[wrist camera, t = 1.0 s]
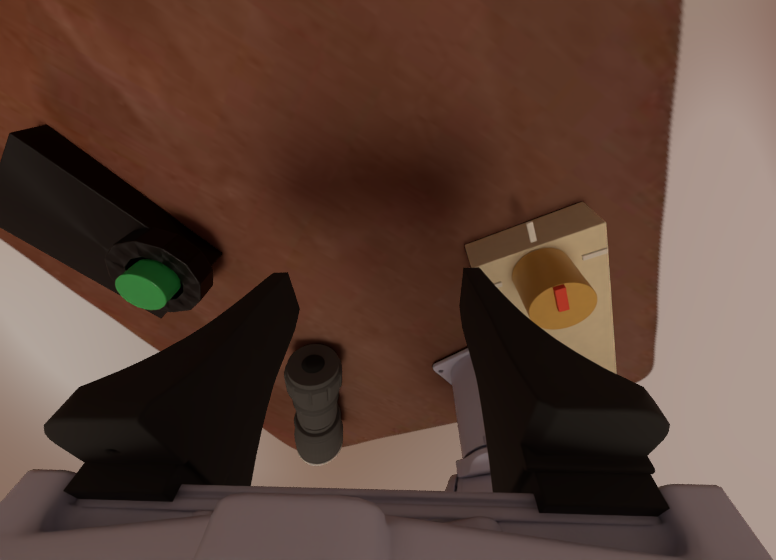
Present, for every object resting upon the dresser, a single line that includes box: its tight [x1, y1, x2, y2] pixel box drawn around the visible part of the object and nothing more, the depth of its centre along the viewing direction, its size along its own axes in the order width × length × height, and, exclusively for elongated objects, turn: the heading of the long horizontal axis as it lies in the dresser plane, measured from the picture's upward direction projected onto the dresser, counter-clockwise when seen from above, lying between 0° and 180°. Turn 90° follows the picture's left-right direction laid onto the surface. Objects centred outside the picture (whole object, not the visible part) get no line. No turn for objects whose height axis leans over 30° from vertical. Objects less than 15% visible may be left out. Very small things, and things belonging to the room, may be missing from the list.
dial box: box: [465, 202, 617, 374], centre depth 24 cm, size 18×8×3 cm, turn 26°
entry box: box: [0, 125, 222, 318], centre depth 21 cm, size 13×9×4 cm
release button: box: [115, 259, 181, 310], centre depth 20 cm, size 3×3×2 cm
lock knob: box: [512, 248, 597, 330], centre depth 18 cm, size 4×4×4 cm
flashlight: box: [284, 344, 343, 466], centre depth 32 cm, size 15×5×5 cm, turn 175°
